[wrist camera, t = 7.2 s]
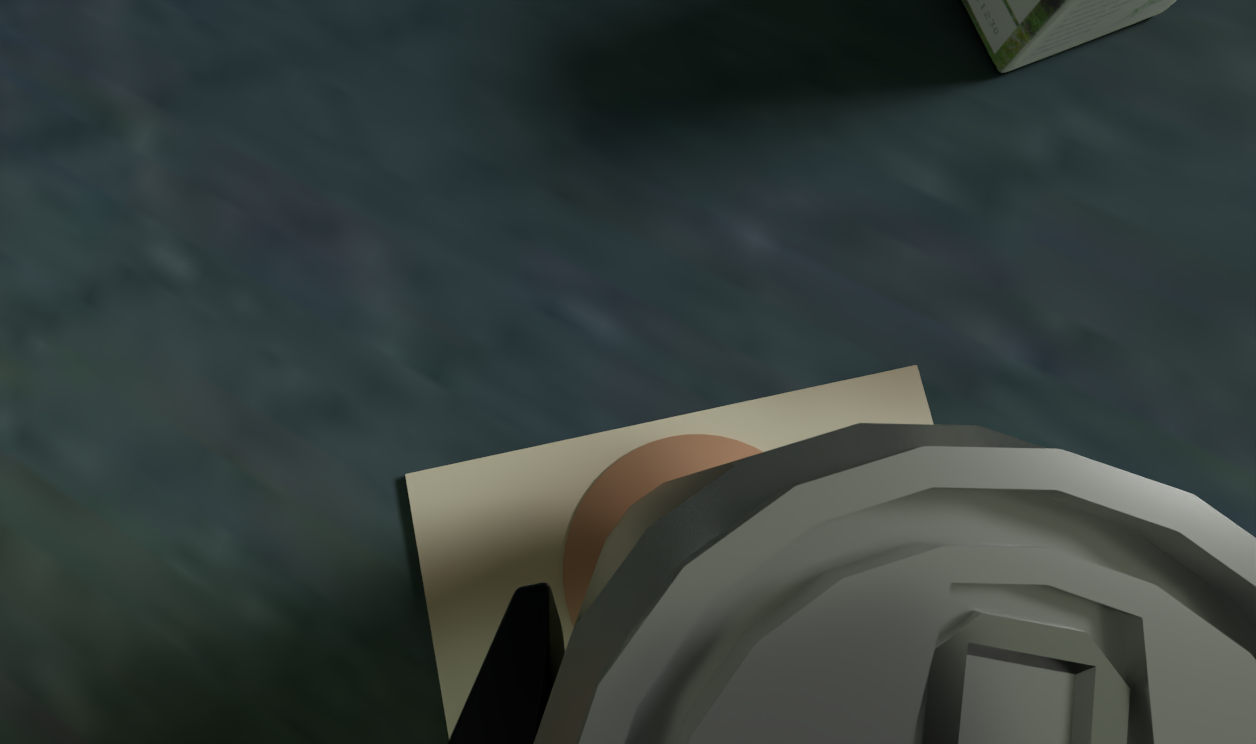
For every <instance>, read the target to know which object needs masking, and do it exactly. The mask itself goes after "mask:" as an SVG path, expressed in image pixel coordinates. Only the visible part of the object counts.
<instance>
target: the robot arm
mask: <svg viewBox="0 0 1256 744" xmlns="http://www.w3.org/2000/svg"><path fill="white" fill-rule="evenodd" d="M564 654H565V647H564V638H563V631H562V626H561V621H560V618H559V614H558V611H557V607H556V604H555V600H554V597H553V593H552V589H551V587H550V585H549V584H548V583H546V582H541V583H536V584H530V585H525V586H521V587H519V588H517V589H516V590H515V592H514V594H513V596H512V598H511V600H510V602H509V605H508V607H507V609H506V612H505V614H504V616H503V618H502V621H501V623H500V625H499V627H498V630H497V632H496V634H495V637H494V639H493V641H492V643H491V646H490V648H489V650H488V652H487V655H486V657H485V659H484V662H483V664H482V666H481V668H480V671H479V673H478V675H477V677H476V680H475V682H474V684H473V687H472V689H471V691H470V693H469V696H468V698H467V700H466V703H465V705H464V707H463V709H462V712H461V714H460V716H459V718H458V721H457V723H456V725H455V728H454V730H453V732H452V734H451V737H450V739H449V741H448V743H447V744H533V743H534V741H535V738H536V735H537V732H538V729H539V726H540V723H541V720H542V717H543V714H544V712H545V709H546V706H547V703H548V700H549V697H550V694H551V691H552V688H553V686H554V683H555V680H556V677H557V674H558V671H559V668H560V665H561V662H562V659H563V657H564Z"/></svg>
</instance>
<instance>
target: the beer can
mask: <svg viewBox="0 0 1256 744" xmlns="http://www.w3.org/2000/svg"><path fill="white" fill-rule="evenodd" d="M533 744H1256V538H1255V537H1253V536H1252V535H1251V534H1249V533H1248V532H1246V531H1245V530H1243V529H1242V528H1241V527H1239V526H1238V525H1236V524H1235V523H1234V522H1232V521H1231V520H1229V519H1228V518H1226V517H1225V516H1224V515H1222V514H1221V513H1219V512H1218V511H1217V510H1215V509H1214V508H1212V507H1211V506H1209V505H1208V504H1207V503H1205V502H1204V501H1202V500H1201V499H1200V498H1198V497H1197V496H1195V495H1194V494H1191V493H1188V492H1185V491H1182V490H1179V489H1177V488H1174V487H1171V486H1168V485H1165V484H1162V483H1159V482H1156V481H1153V480H1150V479H1147V478H1144V477H1141V476H1138V475H1135V474H1132V473H1129V472H1127V471H1124V470H1121V469H1118V468H1115V467H1112V466H1109V465H1106V464H1103V463H1100V462H1097V461H1094V460H1091V459H1088V458H1085V457H1082V456H1079V455H1077V454H1074V453H1071V452H1068V451H1065V450H1062V449H1046V448H1043V447H1040V446H1037V445H1034V444H1031V443H1028V442H1025V441H1022V440H1019V439H1016V438H1013V437H1010V436H1007V435H1004V434H1001V433H999V432H996V431H993V430H990V429H987V428H984V427H981V426H975V425H929V424H883V423H858V424H854V425H851V426H848V427H844V428H841V429H838V430H835V431H831V432H828V433H825V434H821V435H818V436H815V437H812V438H808V439H805V440H802V441H798V442H795V443H792V444H788V445H785V446H782V447H779V448H775V449H772V450H769V451H765V452H762V453H759V454H755V455H752V456H749V457H746V458H742V459H739V460H736V461H732V462H729V463H726V464H722V465H719V466H716V467H713V468H709V469H706V470H703V471H699V472H696V473H693V474H690V475H686V476H683V477H680V478H676V479H673V480H670V481H667V482H663V483H662V484H661V485H659V486H658V487H656V488H655V489H654V490H652V491H651V492H649V493H648V494H646V495H645V496H644V497H642V498H641V499H639V500H638V501H637V502H635V503H634V504H632V505H631V506H630V507H629V508H628V510H627V511H626V512H625V514H624V515H623V516H622V518H621V519H620V520H619V522H618V523H617V524H616V526H615V527H614V528H613V530H612V531H611V532H610V534H609V535H608V536H607V538H606V539H605V542H604V545H603V548H602V550H601V553H600V556H599V559H598V561H597V564H596V567H595V570H594V572H593V575H592V578H591V581H590V583H589V586H588V589H587V592H586V595H585V597H584V600H583V603H582V606H581V608H580V611H579V614H578V617H577V619H576V622H575V625H574V628H573V630H572V633H571V636H570V639H569V642H568V645H567V648H566V651H565V654H564V657H563V659H562V662H561V665H560V668H559V671H558V674H557V677H556V680H555V683H554V686H553V688H552V691H551V694H550V697H549V700H548V703H547V706H546V709H545V712H544V714H543V717H542V720H541V723H540V726H539V729H538V732H537V735H536V738H535V741H534V743H533Z"/></svg>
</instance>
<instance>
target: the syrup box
mask: <svg viewBox="0 0 1256 744" xmlns="http://www.w3.org/2000/svg"><path fill="white" fill-rule="evenodd" d="M1175 1H1177V0H962V3H963V5H964V6H965V8H966V10H967V12H968V14H969V16H970V17H971V19H972V21H973V23H974V25H975V27H976V30H977V32H978V33H979V35H980V37H981V39H982V41H983V43H984V45H985V47H986V49H987V52H988V54H989V55H990V57H991V58H992V61H993V63H994V64H995V66H996V68H997V70H998V71H999V72H1001V73H1005V72H1009V71H1011V70H1014V69H1017V68H1019V67H1022V66H1024V65H1027V64H1030V63H1032V62H1035V61H1038V60H1041V59H1043V58H1046V57H1049V56H1051V55H1054V54H1057V53H1059V52H1062V51H1064V50H1067V49H1069V48H1072V47H1075V46H1078V45H1080V44H1082V43H1085V42H1088V41H1090V40H1093V39H1096V38H1098V37H1101V36H1103V35H1106V34H1108V33H1111V32H1114V31H1116V30H1119V29H1121V28H1124V27H1127V26H1129V25H1132V24H1135V23H1137V22H1140V21H1142V20H1145V19H1147V18H1150V17H1152V16H1155V15H1158V14H1160V13H1162V12H1163V11H1165V10H1166V9H1167V8H1168V7H1170V6H1171V5H1172V4H1173V3H1174V2H1175Z"/></svg>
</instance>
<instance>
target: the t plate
mask: <svg viewBox="0 0 1256 744" xmlns="http://www.w3.org/2000/svg"><path fill="white" fill-rule="evenodd" d="M858 423H883V424H929V425H933V421H932V417H931V414H930V410H929V407H928V403H927V399H926V396H925V392H924V389H923V385H922V382H921V378H920V374H919V371H918V367H917V365H914V366H909V367H905V368H900V369H895V370H891V371H886V372H881V373H877V374H872V375H867V376H863V377H858V378H853V379H849V380H844V381H839V382H834V383H830V384H825V385H820V386H816V387H811V388H806V389H802V390H797V391H792V392H788V393H783V394H778V395H774V396H769V397H764V398H760V399H755V400H750V401H746V402H741V403H736V404H732V405H727V406H722V407H717V408H713V409H708V410H703V411H699V412H694V413H689V414H685V415H680V416H675V417H671V418H666V419H661V420H657V421H652V422H647V423H643V424H638V425H633V426H629V427H624V428H619V429H614V430H610V431H605V432H600V433H596V434H591V435H586V436H582V437H577V438H572V439H568V440H563V441H558V442H554V443H549V444H544V445H540V446H535V447H530V448H526V449H521V450H516V451H512V452H507V453H502V454H497V455H493V456H488V457H483V458H479V459H474V460H469V461H465V462H460V463H455V464H451V465H446V466H441V467H437V468H432V469H427V470H423V471H418V472H413V473H409V474H405V477H406V483H407V489H408V495H409V501H410V507H411V513H412V519H413V525H414V531H415V537H416V543H417V549H418V555H419V561H420V567H421V573H422V579H423V585H424V591H425V597H426V603H427V609H428V615H429V621H430V627H431V633H432V639H433V645H434V651H435V657H436V663H437V669H438V676H439V682H440V688H441V694H442V700H443V706H444V712H445V718H446V724H447V730H448V736H449V739H450V737H451V734H452V732H453V730H454V728H455V725H456V723H457V721H458V718H459V716H460V714H461V712H462V709H463V707H464V705H465V703H466V700H467V698H468V696H469V693H470V691H471V689H472V687H473V684H474V682H475V680H476V677H477V675H478V673H479V671H480V668H481V666H482V664H483V662H484V659H485V657H486V655H487V652H488V650H489V648H490V646H491V643H492V641H493V639H494V637H495V634H496V632H497V630H498V627H499V625H500V623H501V621H502V618H503V616H504V614H505V612H506V609H507V607H508V605H509V602H510V600H511V598H512V596H513V594H514V592H515V590H516V589H517V588H519V587H521V586H525V585H530V584H536V583H541V582H546V583H548V584H549V585H550V587H551V589H552V593H553V597H554V600H555V604H556V607H557V611H558V614H559V618H560V621H561V626H562V631H563V638H564V647H565V651H566V648H567V645H568V642H569V639H570V636H571V633H572V630H573V628H574V625H575V622H576V619H577V617H578V614H579V611H580V608H581V606H582V603H583V600H584V597H585V595H586V592H587V589H588V586H589V583H590V581H591V578H592V575H593V572H594V570H595V567H596V564H597V561H598V559H599V556H600V553H601V550H602V548H603V545H604V542H605V539H606V538H607V536H608V535H609V534H610V532H611V531H612V530H613V528H614V527H615V526H616V524H617V523H618V522H619V520H620V519H621V518H622V516H623V515H624V514H625V512H626V511H627V510H628V508H629V507H630V506H631V505H632V504H634V503H635V502H637V501H638V500H639V499H641V498H642V497H644V496H645V495H646V494H648V493H649V492H651V491H652V490H654V489H655V488H656V487H658V486H659V485H661V484H662V483H663V482H667V481H670V480H673V479H676V478H680V477H683V476H686V475H690V474H693V473H696V472H699V471H703V470H706V469H709V468H713V467H716V466H719V465H722V464H726V463H729V462H732V461H736V460H739V459H742V458H746V457H749V456H752V455H755V454H759V453H762V452H765V451H769V450H772V449H775V448H779V447H782V446H785V445H788V444H792V443H795V442H798V441H802V440H805V439H808V438H812V437H815V436H818V435H821V434H825V433H828V432H831V431H835V430H838V429H841V428H844V427H848V426H851V425H854V424H858Z"/></svg>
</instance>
